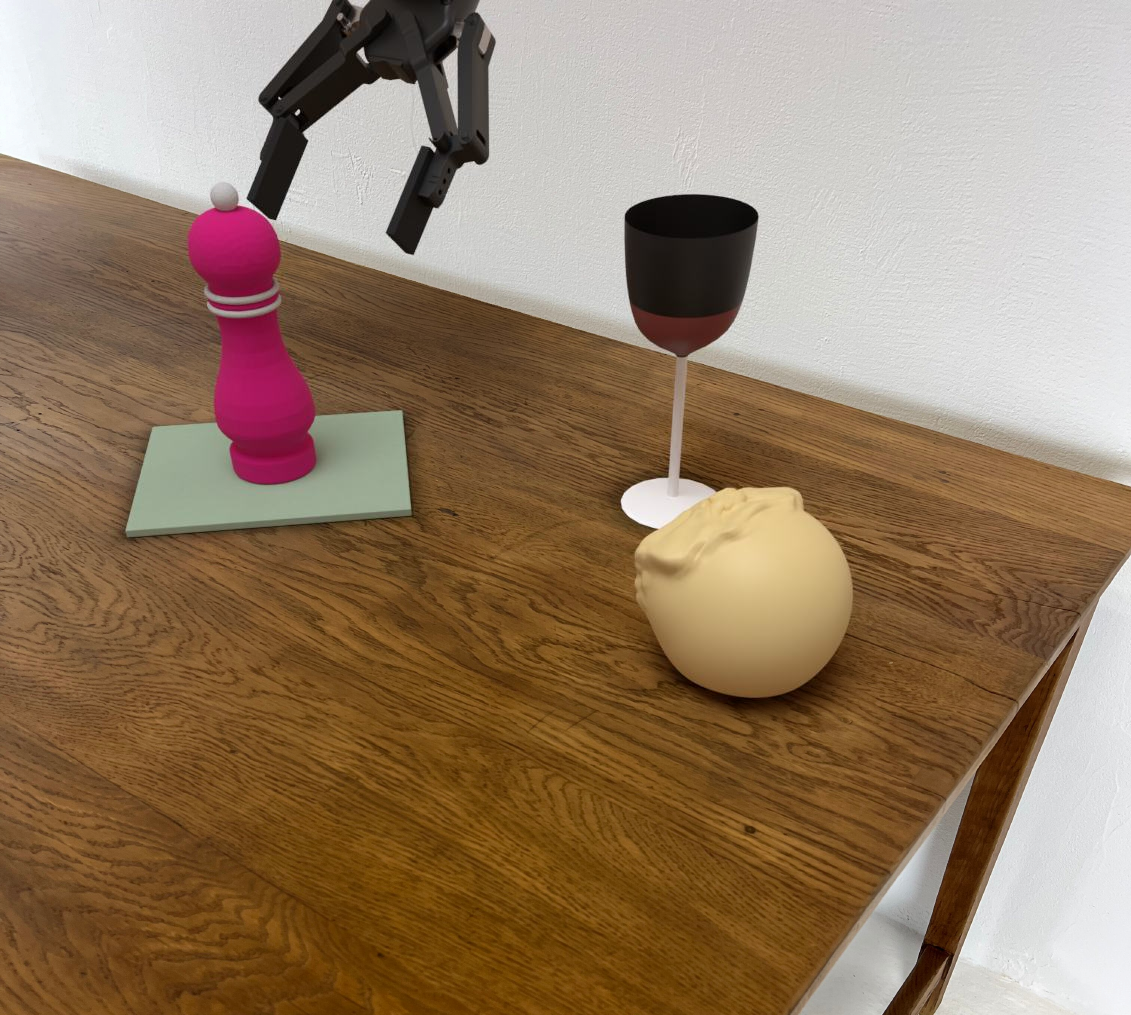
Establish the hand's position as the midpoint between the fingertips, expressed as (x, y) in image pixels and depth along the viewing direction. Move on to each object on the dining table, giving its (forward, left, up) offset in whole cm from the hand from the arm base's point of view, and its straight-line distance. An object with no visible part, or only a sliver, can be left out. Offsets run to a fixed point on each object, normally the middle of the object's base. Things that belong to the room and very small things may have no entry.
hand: (327, 227), depth 83 cm
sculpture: (+23, -36, -15) cm, 45 cm away
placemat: (-6, -8, -15) cm, 18 cm away
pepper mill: (-6, -8, -15) cm, 18 cm away
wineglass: (+23, -17, -15) cm, 32 cm away
